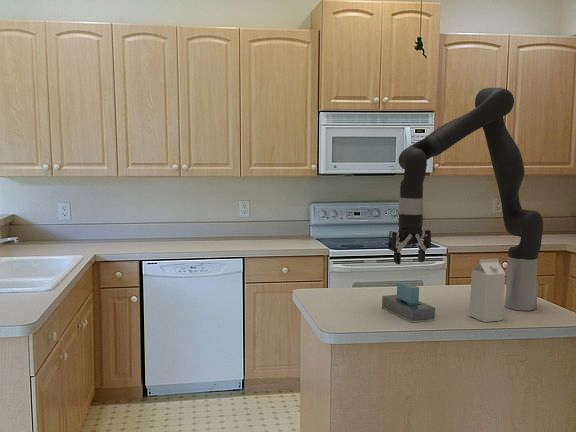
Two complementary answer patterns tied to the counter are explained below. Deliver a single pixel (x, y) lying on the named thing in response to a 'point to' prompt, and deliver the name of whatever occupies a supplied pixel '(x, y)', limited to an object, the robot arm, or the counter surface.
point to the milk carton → (487, 291)
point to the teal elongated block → (408, 293)
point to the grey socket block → (408, 309)
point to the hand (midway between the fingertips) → (409, 262)
